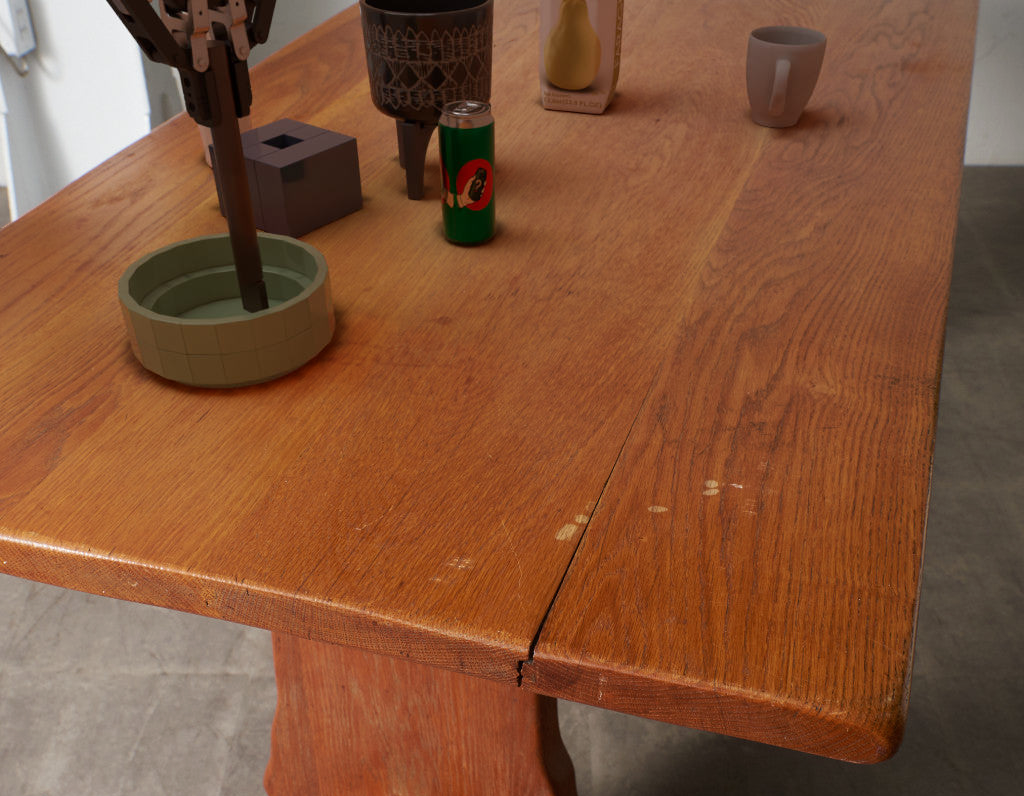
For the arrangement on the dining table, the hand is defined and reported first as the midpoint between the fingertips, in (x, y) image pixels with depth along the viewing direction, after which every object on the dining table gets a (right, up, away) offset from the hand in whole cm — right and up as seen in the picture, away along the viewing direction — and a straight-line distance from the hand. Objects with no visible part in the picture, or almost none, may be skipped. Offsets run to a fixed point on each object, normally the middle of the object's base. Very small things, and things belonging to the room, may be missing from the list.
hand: (222, 118), depth 70 cm
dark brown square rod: (0, -12, +10) cm, 15 cm away
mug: (+52, +19, +51) cm, 75 cm away
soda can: (+16, -1, +26) cm, 31 cm away
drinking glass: (-11, +11, +41) cm, 44 cm away
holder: (-2, +3, +31) cm, 31 cm away
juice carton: (+29, +24, +57) cm, 68 cm away
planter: (+12, +8, +37) cm, 40 cm away
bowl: (-2, -14, +10) cm, 17 cm away
